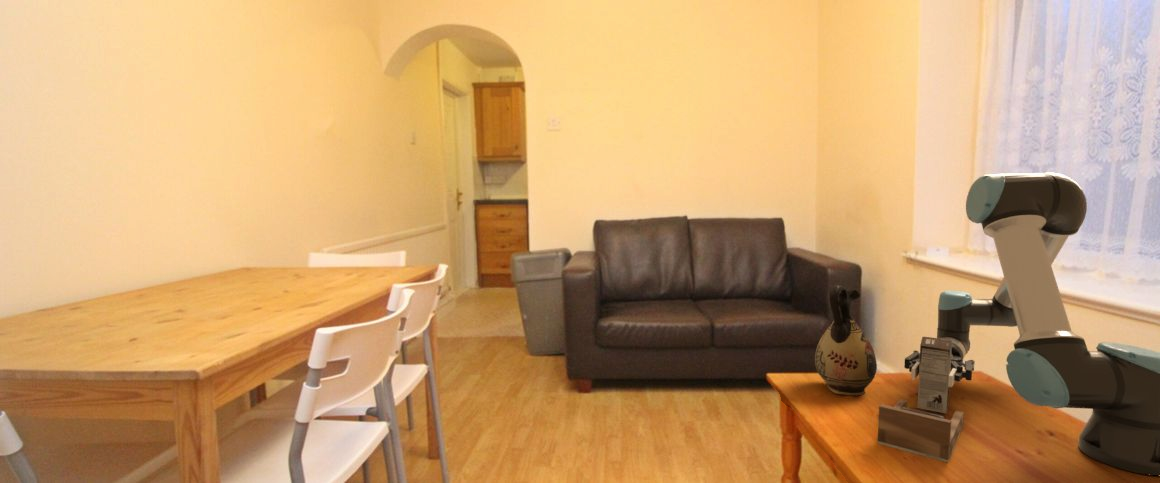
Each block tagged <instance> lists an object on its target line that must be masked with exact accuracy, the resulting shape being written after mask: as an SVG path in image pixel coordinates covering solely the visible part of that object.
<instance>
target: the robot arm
mask: <svg viewBox="0 0 1160 483" xmlns="http://www.w3.org/2000/svg"><path fill="white" fill-rule="evenodd" d="M1087 203H1088V202H1087V198H1086V194H1085V193H1084V190H1083V189H1082V187H1081V186H1080V185H1079V184H1078V183H1077V182H1076V181H1074V180H1073V179H1071V178H1070V177H1068V176H1066V175H1064V174H1061V173H1056V172H1040V173H1039V172H1034V173H1031V172H1029V173H1002V172H1001V173H1000V172H999V173H996V174H995V173H994V174H984V175H982V176H979V177H978V178H977V179H975V181H973V183H972V185H971V186H970V188H969V190H968V194H967V196H966V201H965V212H966V216H967V219H968V220H969V221H971V222H972V223H975V224H980V225H981V226H982V230H983V233H984V235H986V236H988V237H989V238H993V241H994V244H995V248H996V253H997V256H998V260H999V263H1000V267H1001V271H1002V275H1003V278H1002V280H1001V281H1000V283H999V285H998V287H997V289H996V290H995V293H994V295H993V297H992V298H972V295H971V294H970V293H968V292H966V291H961V290H960V291H958V290H944V291H942V292H940V294H939V298H938V305H937V328H936V329H937V330H936V338H938V339H943V340H951V341H952V352H951V372H950V374H949V380H948V386H949V387H950V388H953V386H954V384H955V382H961V381H962V380H963V379H965V380H967V381H969V382H970V381H972V377H973V376H972V375H973V372H974V371H975V360H974V359H969V360H967V359H966V360H964V359H965V357H966V356H967V354H968V353H969V351H970V348H971V340H970V328H971V326H978V327H979V326H981V327H982V326H987V327H991V326H992V327H1010V328H1011V327H1012V328H1013V327H1017V329H1018V333H1019V337H1018V339H1016V341H1014V342H1013V348H1014V349H1013V350H1011V351H1009V353H1008V354H1007V357H1006V359H1005V360H1006V362H1007V363H1006V364H1005V366H1006V368H1005V369H1006V370H1005V371H1006V374H1007V376H1008V380H1009V382H1010V384H1011V386H1012V387H1013V389H1014V390H1015V392H1016V393H1017V394H1018V396H1019V397H1021V398H1023V400H1024V401H1026V402H1027V403H1030V404H1031V405H1034V406H1037V407H1048V408H1052V409H1063V408H1066V409H1067V408H1068V409H1069V408H1070V409H1091V410H1092V411H1091V415H1090V417H1089V418H1088V420H1087V422H1086V423H1085V425H1084V427H1083V428H1082V430H1081V432H1079V433H1080V434H1079V436H1078V448H1079V450H1080V451H1081V452H1082V453H1083V454H1084V455H1085V454H1086V455H1087V456H1088V457H1090V458H1092V459H1093V460H1096V461H1098V462H1100V463H1103V464H1105V465H1108V466H1111V467H1114V468H1117V469H1120V470H1123V471H1128V472H1132V473H1136V474H1140V473H1141V474H1142V475H1145V474H1148V475H1147V476H1151V475H1160V352H1159V351H1155V350H1153V349H1152V350H1151V349H1147V348H1143V347H1139V346H1135V345H1131V344H1125V343H1118V342H1117V343H1116V342H1110V341H1102V342H1099V343H1098V344H1097V346H1096V348H1095V349H1096V350H1097V351H1096V350H1088V347H1087V344H1086V341H1085V339H1084V337H1082V336H1080V335H1078V334H1077V333H1074V332H1073V331H1072V327H1071V325H1070V321H1069V318H1068V315H1067V312H1066V309H1065V306H1064V302H1063V299H1062V296H1061V292H1060V289H1059V287H1058V283H1057V281H1056V280H1057V279H1056V277H1055V273H1054V270H1053V268H1052V265H1053V263H1054V261H1055V260H1056V259H1057V257H1058V254H1059V253H1060V252H1061V250H1062V248H1063V246H1064V245H1065V243H1066V242H1067V240H1068V238H1069V237H1070V236H1074V235H1076V234H1077V233H1078V232H1079V230H1080V228H1081V227H1082V225H1083V223H1084V221H1085V218H1086V215H1087V212H1088V211H1087V210H1088V207H1087V206H1088V205H1087ZM912 352H913V353H912V354H909V355H908V356H907V357H905V358H904V369H906V370H908V371H909V372H910V379H911V380H912V381H913V380H914V381H915V380H916V379H917V377H919V364H920V351H918V350H913V351H912ZM1141 474H1140V475H1141ZM1149 474H1150V475H1149Z"/></svg>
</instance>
